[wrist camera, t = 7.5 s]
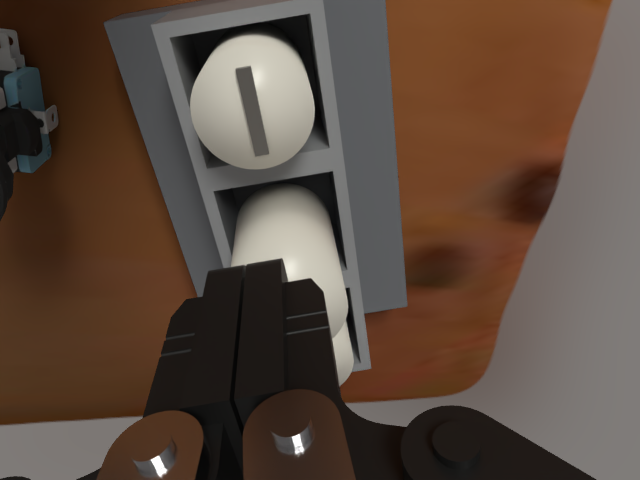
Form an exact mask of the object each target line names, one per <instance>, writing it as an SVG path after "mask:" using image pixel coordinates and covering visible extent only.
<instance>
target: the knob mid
mask: <svg viewBox="0 0 640 480" xmlns="http://www.w3.org/2000/svg"><path fill="white" fill-rule="evenodd" d="M280 258H282V259H283V262H284V265H285V269H286V274H287V278H288V282H290V281H296V280H302V279H308V278H311V279H312V280H313V281H314V282H315V283H316V284H317V285H318V286H319V287H320V288H321V289H322V290H323V292H324V297H325V302H326V308H327V314H328V319H329V325H330V330H331V336H332V339H333V338H334V337H335V336H336V335H337V334H338V332H339V331H340V330H341V328H342V326H343V325H344V322H345V320H346V317H347V313H348V299H347V295H346V290H345V285H344V281H343V276H342V271H341V266H340V262H339V257H338V252H337V248H336V243H335V238H334V234H333V229H332V224H331V220H330V215H329V212H328V209H327V207H326V206H325V204H324V202H323V201H322V200H321V199H320V198H319V197H318V196H317V195H316V194H315V193H313V192H312V191H310V190H309V189H307V188H305V187H302V186H299V185H295V184H289V183H280V184H273V185H269V186H266V187H263V188H261V189H259V190H257V191H256V192H254V193H253V194H252V195H251V196H249V197H248V198H247V199H246V201H245V202H244V203H243V205H242V206H241V208H240V211H239V213H238V217H237V223H236V231H235V238H234V246H233V254H232V262H231V267H233V266H239V265H245V266H246V265H247V264H250V263H256V262H262V261H268V260H274V259H280Z"/></svg>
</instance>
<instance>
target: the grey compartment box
mask: <svg viewBox="0 0 640 480" xmlns="http://www.w3.org/2000/svg"><path fill="white" fill-rule="evenodd" d="M257 22H261V23H266V24H269V25H272V26H275V27H277V28H279V29H280V30H282V31H283V32H285V33H286V34H287V35H288V36H289V37H290V38H291V39H292V40H293V41H294V42H295V44H296V45H297V47H298V49H299V51H300V53H301V55H302V58H303V61H304V65H305V69H306V72H307V76H308V80H309V83H310V87H311V91H312V94H313V99H314V106H315V116H314V123H313V127H312V130H311V133H310V135H309V137H308V139H307V141H306V142H305V144H304V146H303V147H302V148H301V149H300V150H299V151H298V152H297V153H296V154H295V155H294V156H293V157H292V158H290V159H289V160H287V161H286V162H284V163H282V164H280V165H277V166H274V167H271V168H266V169H244V168H240V167H236V166H233V165H231V164H228V163H226V162H224V161H222V160H221V159H219V158H218V157H216V156H215V155H214V154H213V153H212V152H211V151H209V150H208V148H207V147H206V146H205V145H204V144H203V142H202V141H201V139H200V138H199V136H198V134H197V132H196V130H195V128H194V125H193V122H192V118H191V111H190V99H191V93H192V89H193V86H194V83H195V81H196V79H197V77H198V75H199V73H200V72H201V70H202V68H203V66H204V65H205V63H206V61H207V59H208V58H209V56H210V54H211V52H212V51H213V49H214V47H215V45H216V44H217V42H218V41H219V39H220V38H221V37H222V36H223V35H224V34H225V33H226V32H228V31H229V30H230V29H232V28H234V27H236V26H240V25H246V24H252V23H257ZM103 23H104V26H105V29H106V32H107V35H108V38H109V41H110V44H111V47H112V49H113V52H114V55H115V58H116V61H117V64H118V67H119V70H120V73H121V76H122V78H123V81H124V84H125V87H126V90H127V93H128V96H129V99H130V102H131V104H132V107H133V110H134V113H135V116H136V119H137V122H138V125H139V128H140V131H141V133H142V136H143V139H144V142H145V145H146V148H147V151H148V154H149V157H150V160H151V162H152V165H153V168H154V171H155V174H156V177H157V180H158V183H159V186H160V188H161V191H162V194H163V197H164V200H165V203H166V206H167V209H168V212H169V215H170V217H171V220H172V223H173V226H174V229H175V232H176V235H177V238H178V241H179V243H180V246H181V249H182V252H183V255H184V258H185V261H186V264H187V267H188V270H189V272H190V275H191V278H192V281H193V284H194V287H195V290H196V293H197V296H198V297H202V296H203V292H204V287H205V282H206V277H207V273H208V271H210V270H216V269H222V268H227V267H231V262H232V254H233V246H234V238H235V231H236V223H237V217H238V213H239V211H240V208H241V206H242V205H243V203H244V202H245V201H246V199H247V198H248V197H249V196H251V195H252V194H253V193H254V192H256V191H257V190H259V189H261V188H263V187H266V186H269V185H273V184H280V183H289V184H295V185H299V186H302V187H305V188H307V189H309V190H310V191H312V192H313V193H315V194H316V195H317V196H318V197H319V198H320V199H321V200H322V201H323V202H324V204H325V206H326V207H327V209H328V212H329V215H330V220H331V224H332V229H333V234H334V238H335V243H336V248H337V252H338V257H339V262H340V266H341V271H342V276H343V281H344V285H345V290H346V295H347V299H348V313H347V317H346V322H347V327H348V332H349V337H350V342H351V347H352V352H353V358H354V364H353V369H352V371H351V372H354V371H360V370H366V369H371V363H370V356H369V348H368V340H367V333H366V325H365V317H364V314H365V313H371V312H377V311H383V310H389V309H395V308H400V307H406V306H407V295H406V281H405V268H404V254H403V240H402V226H401V212H400V198H399V184H398V170H397V157H396V143H395V129H394V115H393V101H392V87H391V73H390V59H389V46H388V32H387V18H386V4H385V0H201V1H195V2H190V3H184V4H178V5H172V6H166V7H161V8H155V9H149V10H143V11H137V12H132V13H126V14H121V15H119V16H117V17H114V18H112V19H110V20H108V21H105V22H103Z"/></svg>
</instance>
